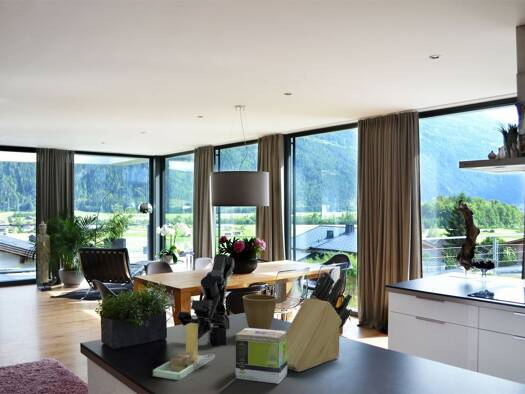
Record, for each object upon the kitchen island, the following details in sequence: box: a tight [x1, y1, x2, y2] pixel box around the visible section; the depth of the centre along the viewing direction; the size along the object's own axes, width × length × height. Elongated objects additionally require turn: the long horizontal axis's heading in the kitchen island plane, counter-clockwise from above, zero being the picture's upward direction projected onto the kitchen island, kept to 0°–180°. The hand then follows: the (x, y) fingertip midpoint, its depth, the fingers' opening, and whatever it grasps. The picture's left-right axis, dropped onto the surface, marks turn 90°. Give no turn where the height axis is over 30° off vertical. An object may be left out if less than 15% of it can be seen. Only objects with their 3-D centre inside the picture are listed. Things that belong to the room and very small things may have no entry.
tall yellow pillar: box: [185, 323, 199, 362], centre depth 174 cm, size 4×5×13 cm
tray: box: [152, 361, 194, 381], centre depth 163 cm, size 10×10×3 cm
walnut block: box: [170, 354, 188, 372], centre depth 167 cm, size 4×4×4 cm
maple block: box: [178, 351, 194, 365], centre depth 170 cm, size 4×4×4 cm
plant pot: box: [242, 294, 278, 330], centre depth 219 cm, size 15×15×16 cm
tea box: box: [235, 327, 288, 384], centre depth 164 cm, size 15×10×15 cm, turn 71°
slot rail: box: [169, 352, 216, 372], centre depth 175 cm, size 16×10×3 cm, turn 159°
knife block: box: [286, 271, 353, 373], centre depth 183 cm, size 11×35×31 cm, turn 137°
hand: (194, 341), depth 176 cm, fingers closed, pressing on tall yellow pillar
